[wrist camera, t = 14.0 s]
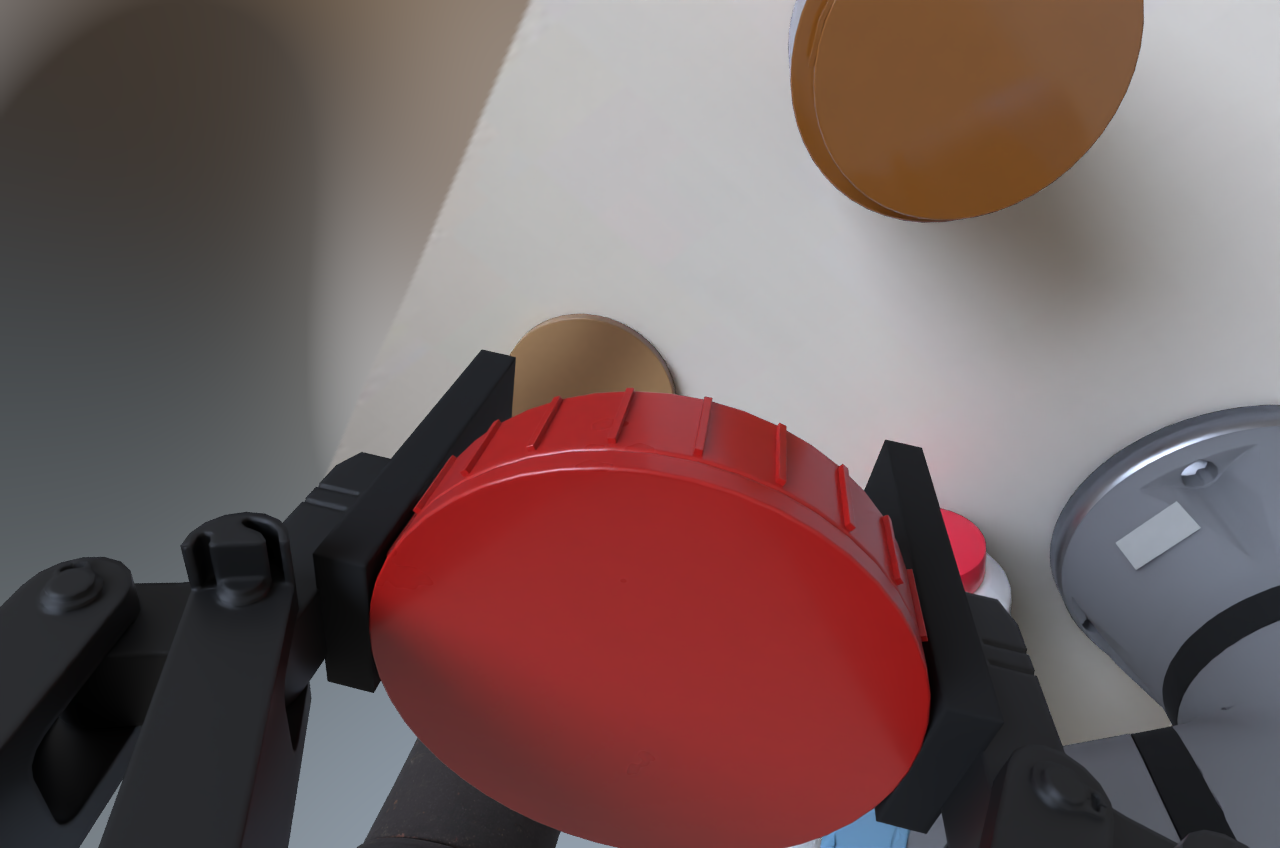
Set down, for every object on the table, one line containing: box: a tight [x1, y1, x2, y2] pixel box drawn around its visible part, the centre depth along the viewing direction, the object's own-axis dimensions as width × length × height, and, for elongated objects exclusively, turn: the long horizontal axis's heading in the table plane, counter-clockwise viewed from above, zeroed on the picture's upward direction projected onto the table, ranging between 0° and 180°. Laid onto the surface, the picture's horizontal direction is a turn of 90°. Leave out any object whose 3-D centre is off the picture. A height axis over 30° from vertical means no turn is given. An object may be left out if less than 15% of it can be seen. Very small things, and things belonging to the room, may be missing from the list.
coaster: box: [510, 314, 675, 417], centre depth 37 cm, size 9×9×1 cm
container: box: [357, 738, 561, 848], centre depth 37 cm, size 9×9×20 cm
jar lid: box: [369, 388, 931, 848], centre depth 11 cm, size 8×8×2 cm
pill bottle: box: [940, 508, 1012, 615], centre depth 37 cm, size 8×8×11 cm
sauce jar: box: [788, 0, 1144, 223], centre depth 21 cm, size 8×8×14 cm
